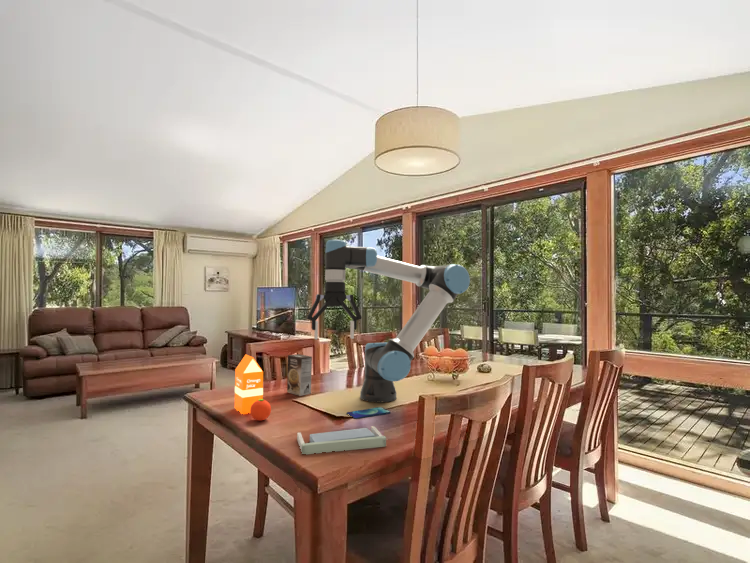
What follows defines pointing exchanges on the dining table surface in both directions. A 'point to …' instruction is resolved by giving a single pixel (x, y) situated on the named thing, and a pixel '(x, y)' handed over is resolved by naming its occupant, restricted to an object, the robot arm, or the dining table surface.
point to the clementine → (260, 410)
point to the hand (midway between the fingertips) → (334, 338)
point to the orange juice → (248, 384)
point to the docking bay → (342, 443)
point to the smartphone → (368, 412)
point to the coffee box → (299, 374)
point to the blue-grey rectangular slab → (341, 435)
